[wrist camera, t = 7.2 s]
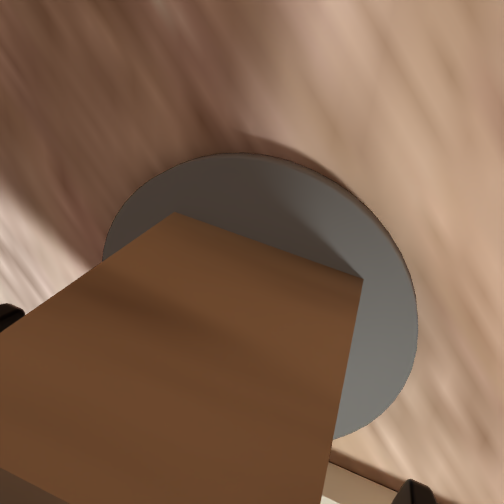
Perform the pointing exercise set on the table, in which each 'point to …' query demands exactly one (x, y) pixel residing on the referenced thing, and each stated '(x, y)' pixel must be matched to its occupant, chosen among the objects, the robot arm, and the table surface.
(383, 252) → the coaster
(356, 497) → the pocket frame
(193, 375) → the block
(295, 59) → the table surface
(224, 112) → the table surface
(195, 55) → the table surface
